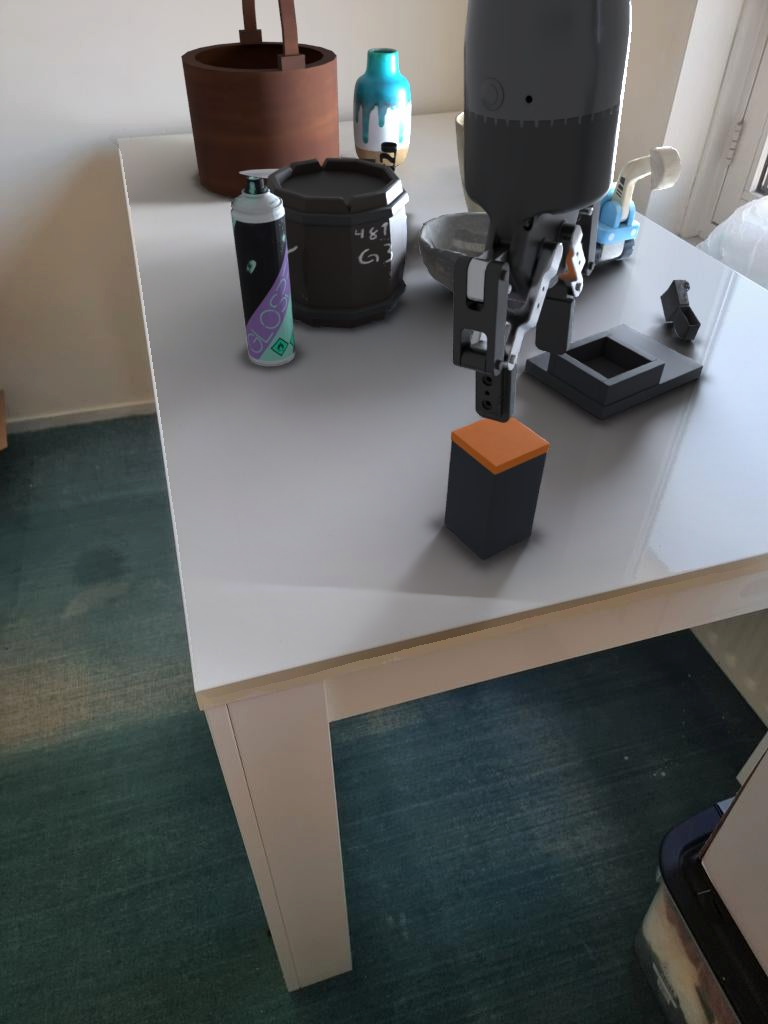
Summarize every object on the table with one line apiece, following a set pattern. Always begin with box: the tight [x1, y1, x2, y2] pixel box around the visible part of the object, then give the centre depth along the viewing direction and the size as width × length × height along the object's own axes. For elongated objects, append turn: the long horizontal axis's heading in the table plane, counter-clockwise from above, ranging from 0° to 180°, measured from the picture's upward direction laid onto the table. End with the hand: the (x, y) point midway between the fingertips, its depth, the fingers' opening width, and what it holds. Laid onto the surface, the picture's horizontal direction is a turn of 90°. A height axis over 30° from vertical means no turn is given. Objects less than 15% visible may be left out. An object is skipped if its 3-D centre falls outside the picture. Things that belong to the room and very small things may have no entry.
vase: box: [352, 47, 412, 168], centre depth 134 cm, size 11×11×19 cm
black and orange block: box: [443, 416, 551, 561], centre depth 61 cm, size 6×6×10 cm
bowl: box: [418, 211, 490, 293], centre depth 99 cm, size 18×18×8 cm
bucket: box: [181, 0, 341, 199], centre depth 124 cm, size 26×26×35 cm
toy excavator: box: [580, 145, 682, 266], centre depth 102 cm, size 9×17×17 cm, turn 28°
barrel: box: [266, 157, 410, 329], centre depth 93 cm, size 18×18×16 cm
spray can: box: [230, 177, 296, 367], centre depth 81 cm, size 6×6×20 cm
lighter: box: [659, 279, 702, 341], centre depth 92 cm, size 8×2×5 cm
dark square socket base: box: [524, 323, 704, 421], centre depth 84 cm, size 12×16×4 cm
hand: (525, 381), depth 46 cm, fingers open, 8 cm apart
